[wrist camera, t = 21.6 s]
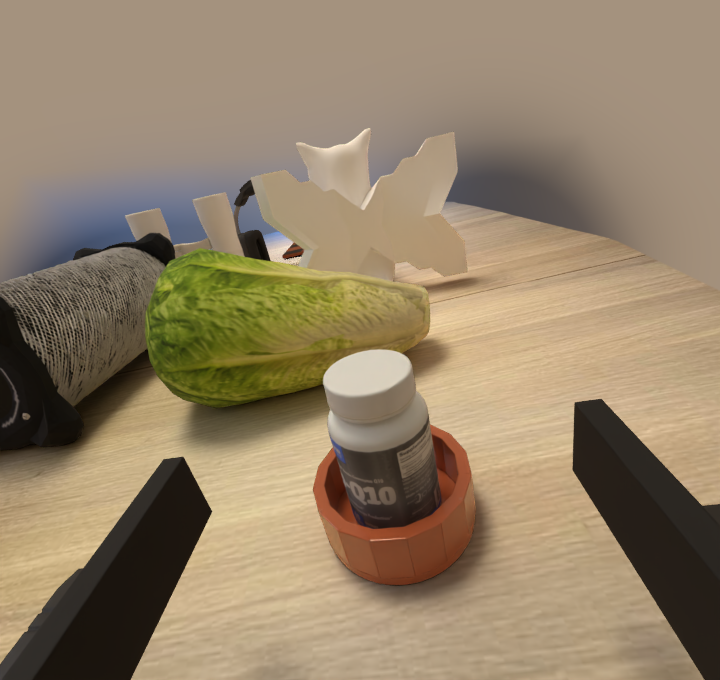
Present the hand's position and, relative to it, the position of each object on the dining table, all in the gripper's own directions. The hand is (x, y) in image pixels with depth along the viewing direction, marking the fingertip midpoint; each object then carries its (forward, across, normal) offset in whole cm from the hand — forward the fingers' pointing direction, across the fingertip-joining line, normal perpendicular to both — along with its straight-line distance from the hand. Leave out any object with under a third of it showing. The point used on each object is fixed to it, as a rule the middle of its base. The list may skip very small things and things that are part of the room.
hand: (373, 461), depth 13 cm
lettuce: (+21, -8, -8) cm, 24 cm away
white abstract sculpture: (+43, -3, -8) cm, 44 cm away
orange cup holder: (+5, 0, -8) cm, 9 cm away
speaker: (+28, -36, -8) cm, 46 cm away
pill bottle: (+5, 0, -8) cm, 9 cm away
